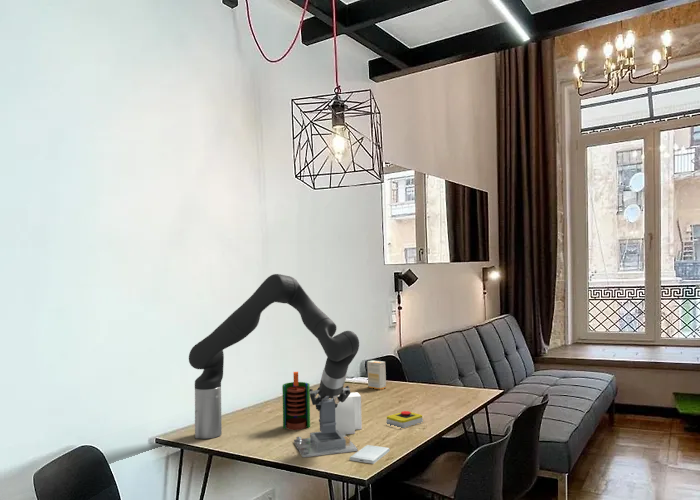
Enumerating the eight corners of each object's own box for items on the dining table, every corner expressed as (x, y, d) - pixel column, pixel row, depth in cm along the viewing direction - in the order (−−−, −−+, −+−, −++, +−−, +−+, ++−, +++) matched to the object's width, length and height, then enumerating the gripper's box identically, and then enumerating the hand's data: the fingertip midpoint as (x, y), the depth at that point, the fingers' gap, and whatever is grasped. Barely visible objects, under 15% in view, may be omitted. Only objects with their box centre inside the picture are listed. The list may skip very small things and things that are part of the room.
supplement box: (386, 388, 263) (385, 361, 264) (380, 390, 260) (379, 362, 260) (373, 386, 269) (373, 359, 269) (367, 387, 265) (366, 361, 266)
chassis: (302, 457, 168) (302, 446, 168) (293, 442, 184) (293, 432, 184) (357, 451, 173) (357, 440, 173) (344, 436, 188) (344, 427, 189)
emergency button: (426, 411, 205) (398, 419, 195) (426, 422, 205) (399, 431, 195) (408, 407, 212) (381, 414, 202) (408, 418, 212) (381, 426, 202)
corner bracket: (358, 424, 203) (357, 392, 204) (364, 432, 192) (363, 399, 193) (330, 426, 202) (329, 393, 202) (334, 435, 191) (334, 401, 191)
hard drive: (366, 444, 176) (349, 456, 165) (389, 447, 173) (373, 460, 162) (366, 449, 176) (349, 461, 165) (389, 453, 173) (373, 465, 161)
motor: (284, 431, 196) (283, 376, 197) (281, 424, 205) (280, 371, 206) (311, 428, 199) (310, 374, 200) (307, 422, 208) (306, 369, 208)
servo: (323, 434, 175) (322, 400, 176) (319, 429, 181) (318, 396, 181) (336, 433, 176) (335, 399, 177) (332, 428, 182) (331, 395, 183)
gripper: (352, 366, 174) (344, 396, 185) (309, 370, 170) (303, 399, 182) (357, 386, 169) (348, 415, 180) (313, 390, 165) (306, 419, 176)
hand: (325, 407), depth 181 cm, fingers closed on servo, 4 cm apart
